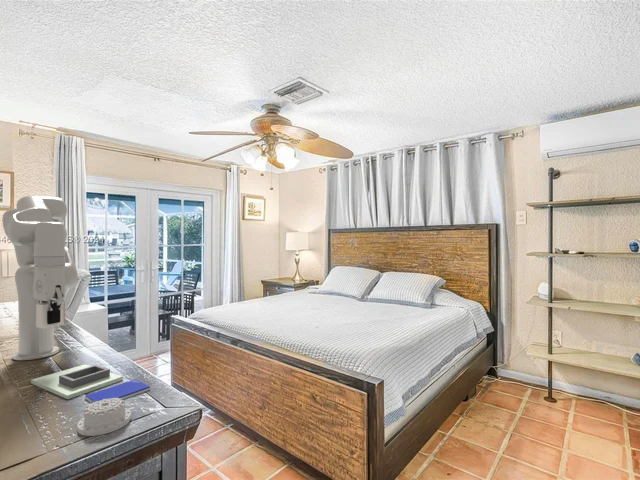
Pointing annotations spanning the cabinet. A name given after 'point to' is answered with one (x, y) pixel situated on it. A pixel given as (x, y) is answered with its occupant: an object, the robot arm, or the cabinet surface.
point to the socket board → (77, 380)
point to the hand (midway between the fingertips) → (50, 321)
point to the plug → (42, 315)
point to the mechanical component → (104, 417)
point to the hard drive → (119, 391)
